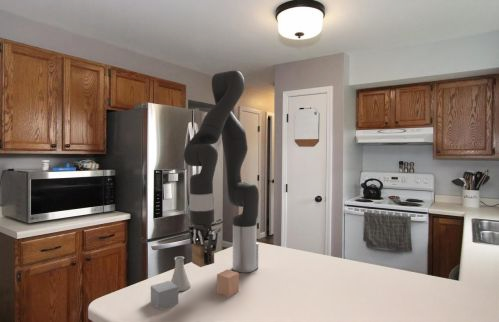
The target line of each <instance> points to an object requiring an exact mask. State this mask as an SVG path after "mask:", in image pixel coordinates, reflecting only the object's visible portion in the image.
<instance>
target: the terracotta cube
mask: <svg viewBox="0 0 499 322" xmlns="http://www.w3.org/2000/svg"><path fill="white" fill-rule="evenodd" d="M238 292H240V272H237V271H235V270H230V269H225V270H223V271H222V272H219V273H217V274H216V293H217V294H219V295H223V296H225V297H229V298H230V297H231V296H233V295H235V294H237V293H238Z"/></svg>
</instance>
